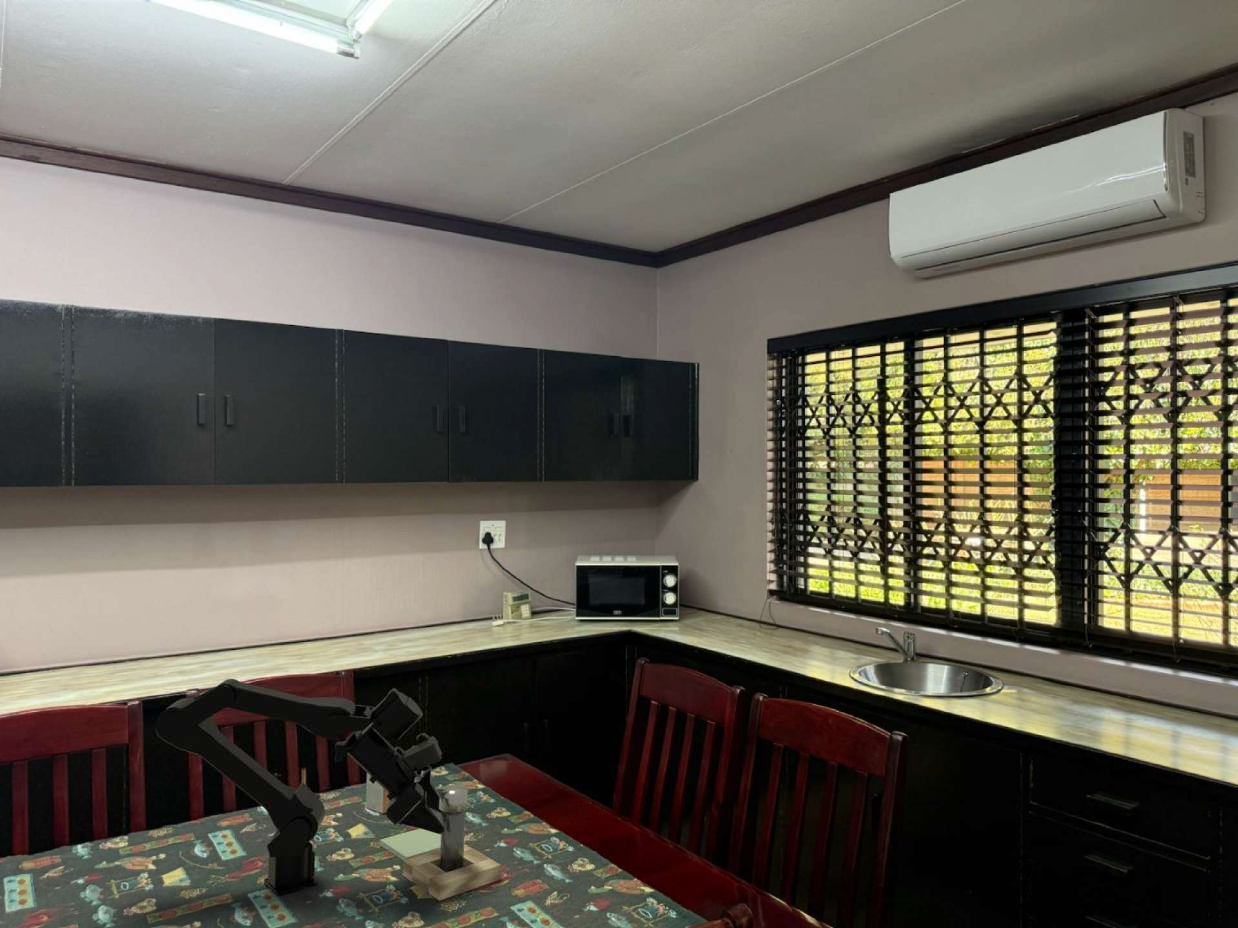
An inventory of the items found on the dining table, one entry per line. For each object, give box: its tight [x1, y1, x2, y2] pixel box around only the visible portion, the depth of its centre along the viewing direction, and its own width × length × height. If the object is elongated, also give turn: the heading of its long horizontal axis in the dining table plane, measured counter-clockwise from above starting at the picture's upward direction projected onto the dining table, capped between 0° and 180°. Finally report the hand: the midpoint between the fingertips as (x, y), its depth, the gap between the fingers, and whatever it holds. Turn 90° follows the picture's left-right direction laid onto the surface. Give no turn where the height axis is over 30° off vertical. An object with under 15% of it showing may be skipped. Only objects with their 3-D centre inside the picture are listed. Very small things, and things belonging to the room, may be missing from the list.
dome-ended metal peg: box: [438, 784, 469, 873], centre depth 154 cm, size 5×5×15 cm
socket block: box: [402, 843, 502, 901], centre depth 154 cm, size 12×12×2 cm
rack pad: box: [379, 828, 441, 862], centre depth 166 cm, size 10×10×1 cm
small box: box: [365, 772, 390, 814], centre depth 187 cm, size 8×6×10 cm
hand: (443, 821), depth 154 cm, fingers open, 9 cm apart
